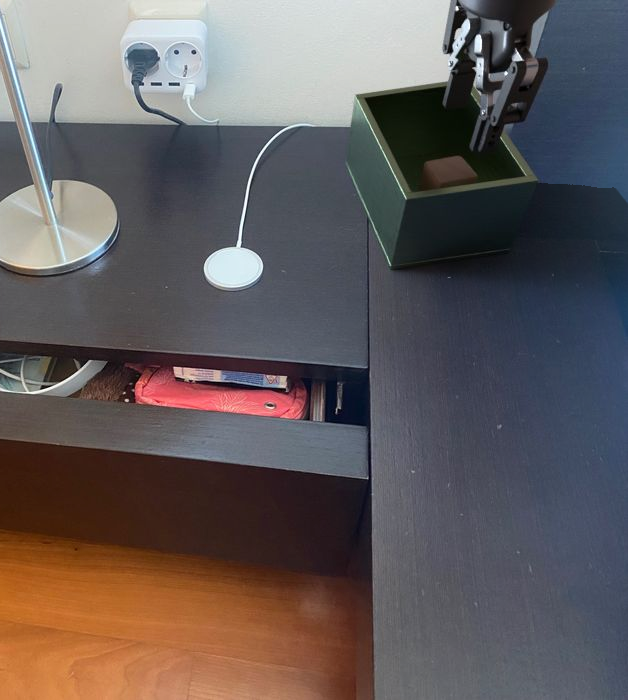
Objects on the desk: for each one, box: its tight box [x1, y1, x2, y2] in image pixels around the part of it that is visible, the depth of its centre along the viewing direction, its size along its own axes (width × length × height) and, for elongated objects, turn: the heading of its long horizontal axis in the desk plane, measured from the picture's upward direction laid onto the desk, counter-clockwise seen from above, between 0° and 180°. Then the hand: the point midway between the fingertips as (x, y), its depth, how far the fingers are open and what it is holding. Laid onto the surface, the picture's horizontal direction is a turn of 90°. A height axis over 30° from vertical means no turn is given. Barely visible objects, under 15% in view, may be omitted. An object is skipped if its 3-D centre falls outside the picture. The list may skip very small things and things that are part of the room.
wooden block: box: [418, 156, 478, 192], centre depth 74 cm, size 4×4×8 cm
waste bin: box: [344, 80, 539, 271], centre depth 77 cm, size 18×13×10 cm
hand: (467, 127), depth 67 cm, fingers open, 6 cm apart
